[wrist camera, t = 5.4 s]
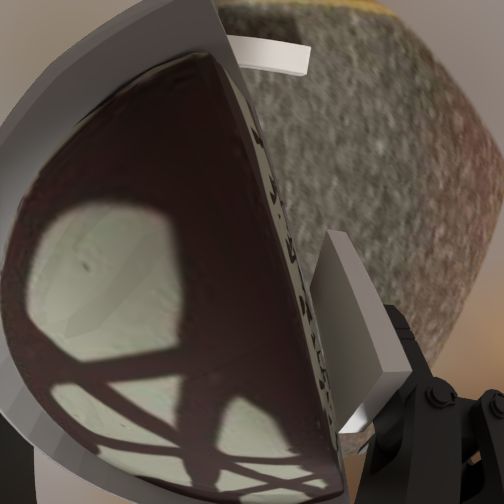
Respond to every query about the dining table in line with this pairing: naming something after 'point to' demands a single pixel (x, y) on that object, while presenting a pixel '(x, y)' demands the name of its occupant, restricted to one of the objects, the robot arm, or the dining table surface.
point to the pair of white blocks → (270, 55)
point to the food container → (158, 276)
